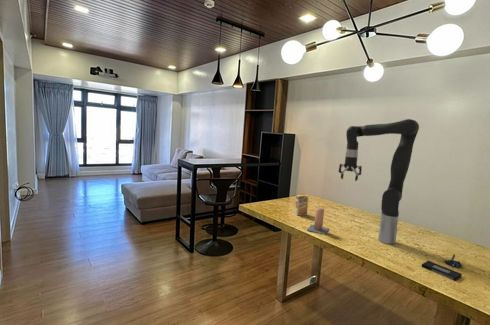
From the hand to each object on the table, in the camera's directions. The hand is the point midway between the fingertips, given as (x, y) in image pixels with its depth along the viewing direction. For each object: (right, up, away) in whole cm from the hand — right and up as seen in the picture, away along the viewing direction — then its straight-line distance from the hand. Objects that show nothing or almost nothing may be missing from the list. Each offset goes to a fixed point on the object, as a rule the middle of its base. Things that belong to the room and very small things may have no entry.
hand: (349, 180), depth 179 cm
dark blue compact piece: (+39, -42, -40) cm, 70 cm away
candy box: (-26, -29, +30) cm, 50 cm away
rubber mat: (-21, -34, -1) cm, 40 cm away
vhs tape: (+26, -43, -48) cm, 70 cm away
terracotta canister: (-21, -33, -1) cm, 39 cm away
